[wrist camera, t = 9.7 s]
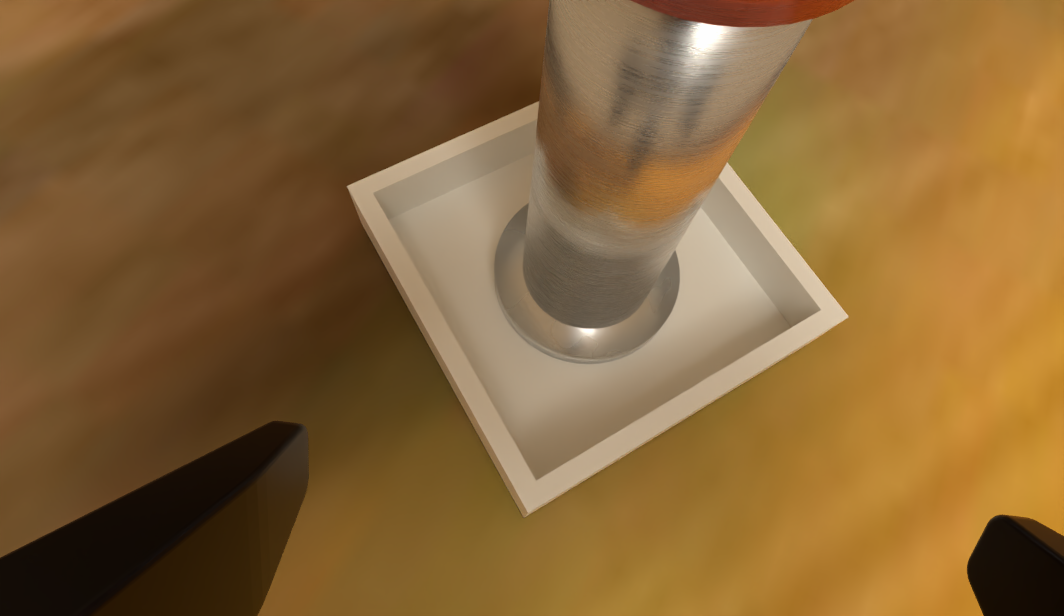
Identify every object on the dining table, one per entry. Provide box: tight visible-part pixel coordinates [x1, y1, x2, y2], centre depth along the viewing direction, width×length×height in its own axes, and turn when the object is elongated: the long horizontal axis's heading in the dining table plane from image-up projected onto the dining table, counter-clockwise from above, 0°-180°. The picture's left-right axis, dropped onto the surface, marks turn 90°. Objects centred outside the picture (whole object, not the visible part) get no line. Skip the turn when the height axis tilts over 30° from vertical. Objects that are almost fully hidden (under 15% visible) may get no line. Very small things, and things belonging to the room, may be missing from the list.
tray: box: [347, 101, 848, 518], centre depth 21 cm, size 11×11×2 cm
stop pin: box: [494, 0, 854, 364], centre depth 14 cm, size 6×6×15 cm
